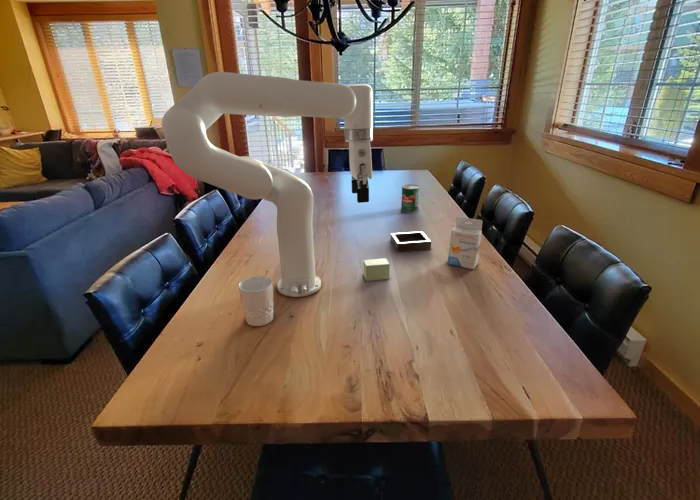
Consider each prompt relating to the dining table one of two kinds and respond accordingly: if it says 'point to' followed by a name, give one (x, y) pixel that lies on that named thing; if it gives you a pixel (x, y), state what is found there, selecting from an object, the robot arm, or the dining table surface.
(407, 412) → the dining table surface
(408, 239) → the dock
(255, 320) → the white cup
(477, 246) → the ink box
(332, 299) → the dining table surface
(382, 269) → the light green block
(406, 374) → the dining table surface
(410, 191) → the canned tomato
